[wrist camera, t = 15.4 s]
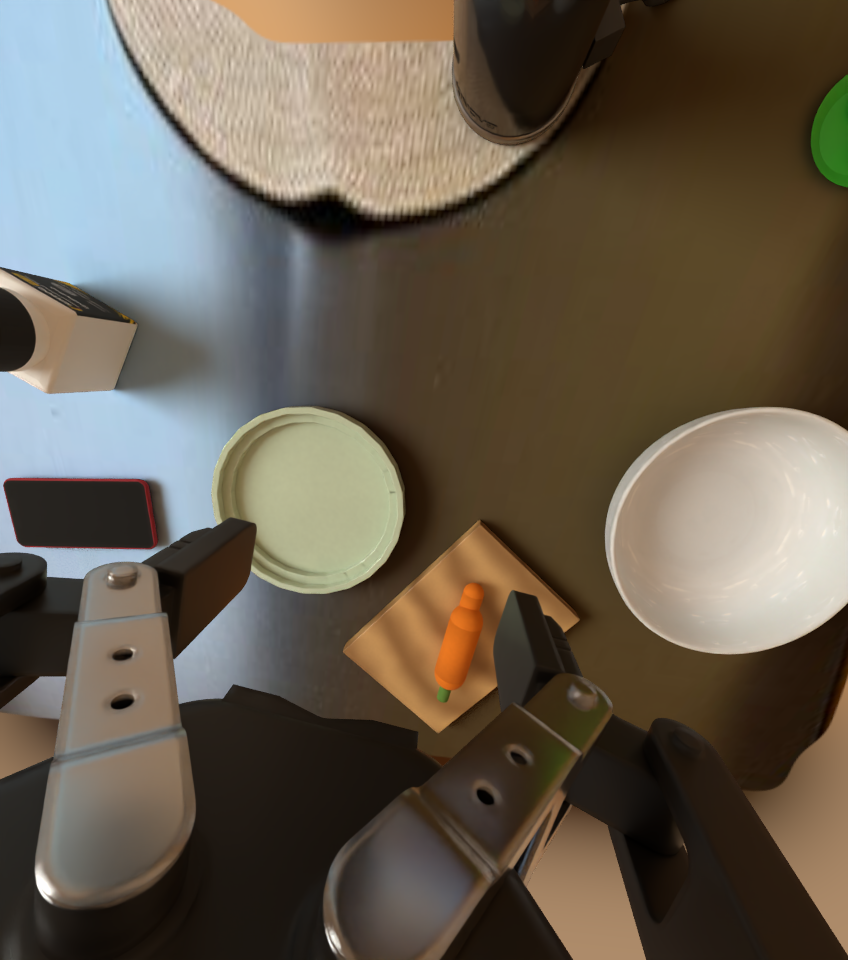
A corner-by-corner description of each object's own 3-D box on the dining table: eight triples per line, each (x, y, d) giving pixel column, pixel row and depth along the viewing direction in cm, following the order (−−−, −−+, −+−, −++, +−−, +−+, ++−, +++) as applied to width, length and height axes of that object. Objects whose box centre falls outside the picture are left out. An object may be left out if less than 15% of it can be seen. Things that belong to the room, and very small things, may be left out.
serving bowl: (681, 650, 44) (722, 699, 37) (539, 514, 41) (556, 541, 35) (866, 511, 39) (951, 540, 33) (719, 349, 37) (778, 344, 30)
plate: (303, 363, 39) (293, 363, 37) (444, 498, 42) (444, 505, 39) (189, 498, 43) (174, 505, 41) (324, 614, 46) (317, 627, 43)
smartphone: (156, 550, 44) (17, 547, 45) (162, 546, 45) (25, 543, 46) (144, 480, 42) (0, 478, 43) (150, 477, 43) (9, 476, 44)
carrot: (459, 575, 42) (461, 591, 39) (491, 583, 42) (495, 600, 39) (427, 683, 45) (426, 707, 42) (456, 690, 45) (458, 714, 42)
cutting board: (479, 519, 42) (480, 524, 40) (576, 611, 44) (580, 620, 42) (345, 643, 46) (342, 652, 45) (438, 722, 48) (438, 733, 47)
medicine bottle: (140, 323, 39) (10, 302, 28) (115, 391, 41) (-18, 399, 29) (68, 281, 39) (-95, 243, 27) (46, 352, 41) (-117, 345, 29)
